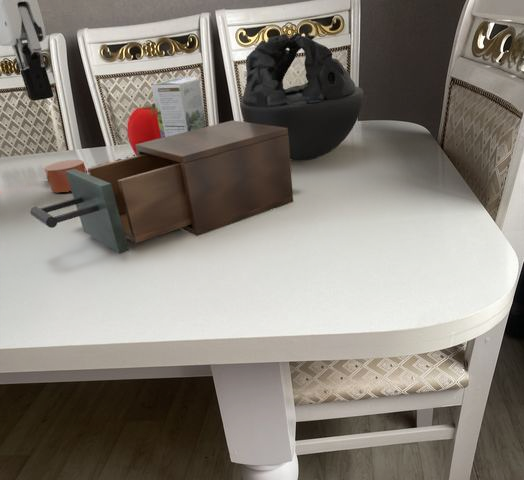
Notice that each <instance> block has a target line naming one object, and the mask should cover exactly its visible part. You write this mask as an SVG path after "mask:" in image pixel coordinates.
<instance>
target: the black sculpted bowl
mask: <svg viewBox="0 0 524 480" xmlns="http://www.w3.org/2000/svg"><path fill="white" fill-rule="evenodd" d="M314 38H315V35H305V36H304V35H302V33H301V32H296V33H294V34H293V35H291V36H288V34H287V33H282V34H280V35H275V36H270V37H268V38H267V42H266V41H265V40H261V41H260V42H259V43H258V44H257V45H256V47H255V48H254V49H253V50H251V52H250V53H249V54H248V55H247V56H246V59H245V69H246V80H245V81H246V83H245V87H244V91H243V95H242V96H241V99H242V101H240V104H239V107H240V112H241V115H242V119H243V122H247V123H255V124H262V125H270V126H277V127H284V128H288V138H289V151H290V161H294V162H299V161H301V162H303V161H310V160H315V159H317V158H320V157H323V156H325V155H327V154H329V153H330V152H332V151H333V150H335V149H336V148H338V146H340V145H341V144H342V143H343V142H344V140H345V139H347V137H348V136H349V134H350V133H351V132H352V130H353V128H354V127H355V125H356V123H357V120H358V119H359V116H360V113H361V109H362V105H363V99H364V90H363V88H362V87H359V86H356V83H355V82H354V80H353V79H352V78H351V76H350V74H349V73H348V71H347V69H345V67H344V65H343V64H342V62H340V61H339V59H337V58H333V52H332V51H331V49H329V47H327V46H326V45H324V44H321V43H319V42H317V41H316V40H314ZM301 49H302V51H303V53H304V64H303V65H304V70H305V78H306V81H307V82H306V83H304V84H301V85H300V84H299V85H294V86H290V87H287V88H284V78H285V76H286V74H287V73H288V71H289V69H290V68H291V66H292V64H293V62H294V61H295V60H296V58H297V56H298V52H299V51H300V50H301Z"/></svg>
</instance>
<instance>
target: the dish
mask: <svg viewBox="0 0 524 480" xmlns="http://www.w3.org/2000/svg"><path fill="white" fill-rule="evenodd" d="M72 169H76V170H79V171H81V172H84V173H86V174H88V171H87V169H86V165H85V162H84V160H82V159H69V160H63V161H58V162H54V163H51V164H48V165H46V166H45V167H44V168H43V170H44V173H45V177H46V180H47V183H48V185H49V188H50V192H52V193H58V194H60V193H59V192H68V193H70V192H69V191H71V188H70V184H69V181H68V178H67V175H66V171H68V170H72Z"/></svg>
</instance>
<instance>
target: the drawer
mask: <svg viewBox="0 0 524 480" xmlns="http://www.w3.org/2000/svg"><path fill="white" fill-rule="evenodd" d="M66 175H67V178H68V181H69V184H70V188H71V191H72V192H71V194H72V197H73V198H70V199H67V200H64V201H60V202H57V203H52V204H49V205H46V206H43V207H39V206H32V207H31V208H30V210H29V212H30V213H29V214H30V215H31V216H32V217H34V218H35V219H36V220H37V221H39V222H40V223H42V224H44V225H45V226H47V227H48V228H50V229H54V228H56V227H57V225H58V223H63V222H66V221H69V220H72V219H76V218H79V220H80V223H81V227H82V230H83V232H84V233H85V234H86V235H88V236H90V237H92V238H93V239H95V240H97V241H98V242H100V243H101V244H103V245H105V246H106V247H108V248H110V249H111V250H112V251H114V252H116V253H118V254H119V255H121V254H123V253H126V252H129V251H130V250H129V246H128V242H127V239H128V240H130V241H131V242H133V243H135V244H139V243H141V242H144V241H147V240H150V239H153V238H155V237H158V236H161V235H164V234H167V233H170V232H173V231H177V230H179V229H180V228H182V227H185V226H188V225H191V224H192V221H191V216H190V211H189V205H188V200H187V195H186V189H185V184H184V179H183V174H182V168H181V162H177V161H173V160H169V159H166V158H162V157H158V156H155V155H151V154H147V153H145V154H142V155H138V156H136V155H134V156H130V157H126V158H122V159H119V160H115V161H110V162H107V163H103V164H99V165H96V166H93V167H87V174H86V173H84V172H81V171H79V170H76V169H72V170H68V171H66ZM71 206H76V209H75V210H71V211H69V212H65V213H61V214H59V215H55V216H53V215H51V214H50V213H51V212H54V211H55V212H56V211H58V210H61V209H65V208H69V207H71Z"/></svg>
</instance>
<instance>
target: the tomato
mask: <svg viewBox="0 0 524 480" xmlns="http://www.w3.org/2000/svg"><path fill="white" fill-rule="evenodd" d="M134 108H136V109H134V110H133V111H132V113H131V114H130V116H129V118H128V121H127V125H126V127H127V129H126V133H127V138H128V143H129V145H130V147H131V149H132V151H133V153H134V155H135V156H138V155H137V150H136V146H135V145H136V144H140V143H144V142H148V141H152V140H156V139H160V138H161V134H160V128H159V123H158V118H157V112H156V107H155V103H152V104H151V106H150V105H145V104H144V106H142V107H141V106H138V107H137V105H136V106H134Z"/></svg>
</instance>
